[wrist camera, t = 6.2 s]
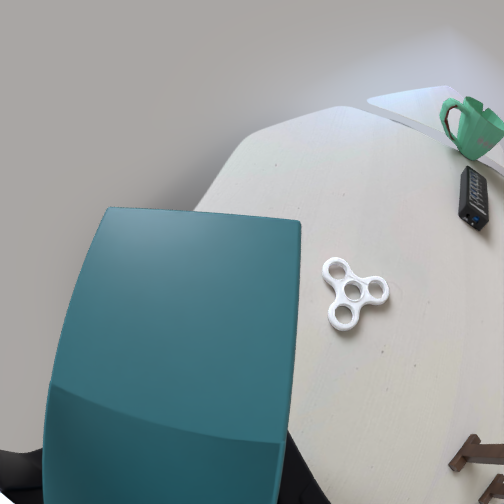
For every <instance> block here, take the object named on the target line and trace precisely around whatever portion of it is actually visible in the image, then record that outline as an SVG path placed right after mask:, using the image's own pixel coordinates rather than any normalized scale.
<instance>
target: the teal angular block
mask: <svg viewBox="0 0 504 504" xmlns="http://www.w3.org/2000/svg"><path fill="white" fill-rule="evenodd" d="M300 260H301V223H300V221H298V220H290V219H280V218H269V217H259V216H247V215H236V214H223V213H210V212H196V211H181V210H163V209H146V208H124V207H123V208H122V207H109V208H107V210H106V212H105V214H104V216H103V218H102V220H101V223H100V225H99V227H98V229H97V232H96V234H95V236H94V238H93V241H92V243H91V246H90V248H89V250H88V253H87V255H86V258H85V261H84V263H83V266H82V269H81V271H80V274H79V277H78V280H77V282H76V285H75V288H74V291H73V294H72V297H71V301H70V303H69V307H68V310H67V314H66V317H65V320H64V324H63V328H62V331H61V335H60V339H59V344H58V348H57V352H56V356H55V361H54V366H53V371H52V377H51V381H50V384H49V390H48V396H47V404H46V412H45V422H44V434H43V455H42V477H43V497H44V504H277V500H278V494H279V488H280V482H281V476H282V469H283V462H284V455H285V448H286V438H287V430H288V422H289V413H290V404H291V394H292V384H293V373H294V362H295V350H296V336H297V321H298V305H299V285H300Z"/></svg>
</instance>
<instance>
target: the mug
mask: <svg viewBox="0 0 504 504" xmlns="http://www.w3.org/2000/svg"><path fill="white" fill-rule="evenodd" d="M452 108H456V109H459V110H460V111H461V117H460V121H459V128H458V136H457V138H456V137H455V136H454V135H453V134H452V133H451V132H450V129H449V124H448V119H447V118H448V114H449V110H450V109H452ZM482 110H483V104H482V103H481V102H479V101H477V100H476V99H474V98H471V97H465V99H464V102H463V104H462V103H460V102H459V101H457V100H455V99H452V98H449V99H447V100H446V101H444V102H443V105H442V109H441V112H440V115H439V116H440V120H441V122H442V125H443V128H444V130H445V133H446V135H447V137H449V139H451V141H452V142H454V144H455V145H456V146H457V148H458V149H459V151H460V152H461V153H462V154H463V155H464V156H465V157H467V158H468V159H470V160H473V161H474V160H476V159H478V158H480V157H481V156H483V155H484V154H486V153H487V152H488V151H490V150H491V149H492V148H493V147H494V146H495V145H496V144H497V143H498V142H499V141H500V140H501V139H502V138H503V137H504V123H503V121H502V120H501V119H500V118H499V117H498V116H497V115H496V114H495V113H494V112H493V111H492V110H491V109H489V108H487V109H486V110H485V111H483V112H482Z"/></svg>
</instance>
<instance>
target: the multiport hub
mask: <svg viewBox="0 0 504 504" xmlns="http://www.w3.org/2000/svg"><path fill="white" fill-rule="evenodd" d="M458 215H459V217H460V218H462V219H463V220H465V221H466V222H467V223H469V224H470V225H471V226H473V227H474V228H475V229H477V230H478V231H480V230H481V229H482V228H483V227H484V226H485V225H486V224H487V223H488V221H489V215H488V193H487V181H486V179H485V178H484V177H483V176H482V175H480V174H479V173H478V172H476V171H475V170H473V169H472V168H471V167H469V166H466V168H465V169H464V171H463V172H462V174H461V183H460V200H459V212H458Z"/></svg>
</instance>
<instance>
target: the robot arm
mask: <svg viewBox="0 0 504 504" xmlns="http://www.w3.org/2000/svg"><path fill="white" fill-rule="evenodd" d="M42 455H43V448H41V449H38V450H35V451H32V452H28V453H15V452H9V451H4V450H0V504H44V497H43V477H42ZM277 504H331V503H330V501H329V500H328V499H327V497H326V496H325V495H324V493H323V491H322V490H321V488H320V487H319V485H318V483H317V482H316V480H315V479H314V477H313V475H312V473H311V471H310V470H309V468H308V466H307V464H306V462H305V461H304V459H303V457H302V455H301V453H300V452H299V450H298V448H297V446H296V444H295V442H294V441H293V439H292V437H291V435H290V433H289V431H288V430H287V438H286V448H285V455H284V462H283V469H282V476H281V482H280V488H279V494H278V500H277Z"/></svg>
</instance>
